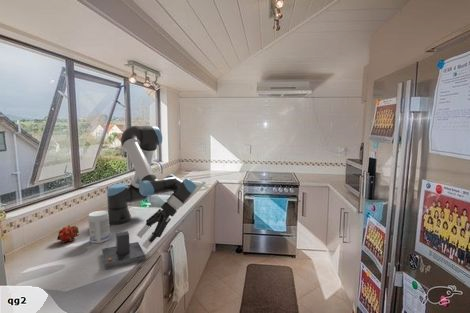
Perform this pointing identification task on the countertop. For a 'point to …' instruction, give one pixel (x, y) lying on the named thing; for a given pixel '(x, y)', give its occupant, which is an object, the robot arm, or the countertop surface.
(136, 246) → the socket plate
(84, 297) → the countertop surface
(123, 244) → the plug
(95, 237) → the supplement tub
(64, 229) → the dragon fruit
